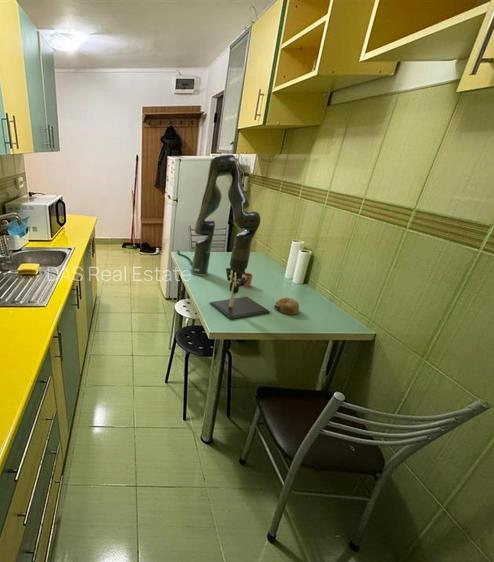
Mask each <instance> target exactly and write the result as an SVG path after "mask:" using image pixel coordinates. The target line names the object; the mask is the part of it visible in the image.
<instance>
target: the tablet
mask: <svg viewBox="0 0 494 562" xmlns="http://www.w3.org/2000/svg"><path fill="white" fill-rule="evenodd" d="M229 301H230V298H229V299H222V300H216V301H210V302H209V305H211V306H212V307H214V308H215V309H216V310H218V312H220V313H221V314H222V315H224V316H225V317H226V318H227V319H229V320H237V319H244V318H248V317H254V316H260V315H266V314H270V312H271V311H270V310H269V309H267V308H266V307H264V306H262V305H261V304H260V303H258V302H256V301H254V300H253V299H251V298H250V297H248V296H242V297H235V299H234V304H233V307H231V308H230V307H229Z"/></svg>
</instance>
